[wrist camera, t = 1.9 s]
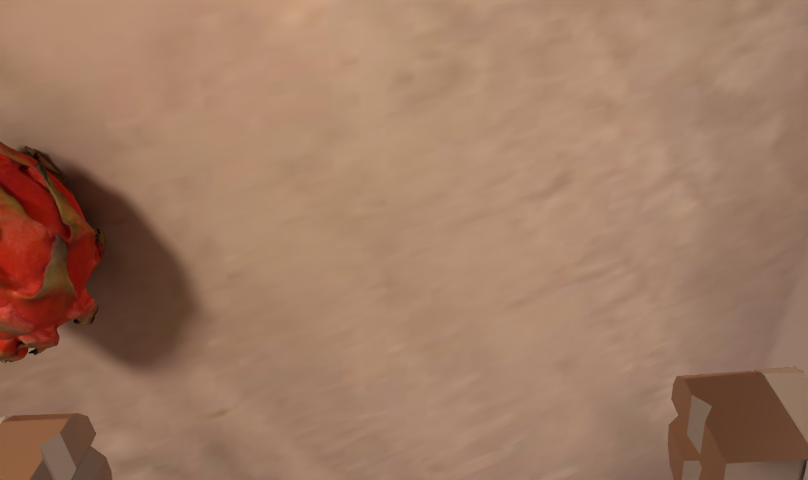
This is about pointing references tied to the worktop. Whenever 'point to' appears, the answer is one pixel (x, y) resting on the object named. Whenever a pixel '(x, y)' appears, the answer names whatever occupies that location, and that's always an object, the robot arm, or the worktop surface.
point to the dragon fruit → (41, 255)
